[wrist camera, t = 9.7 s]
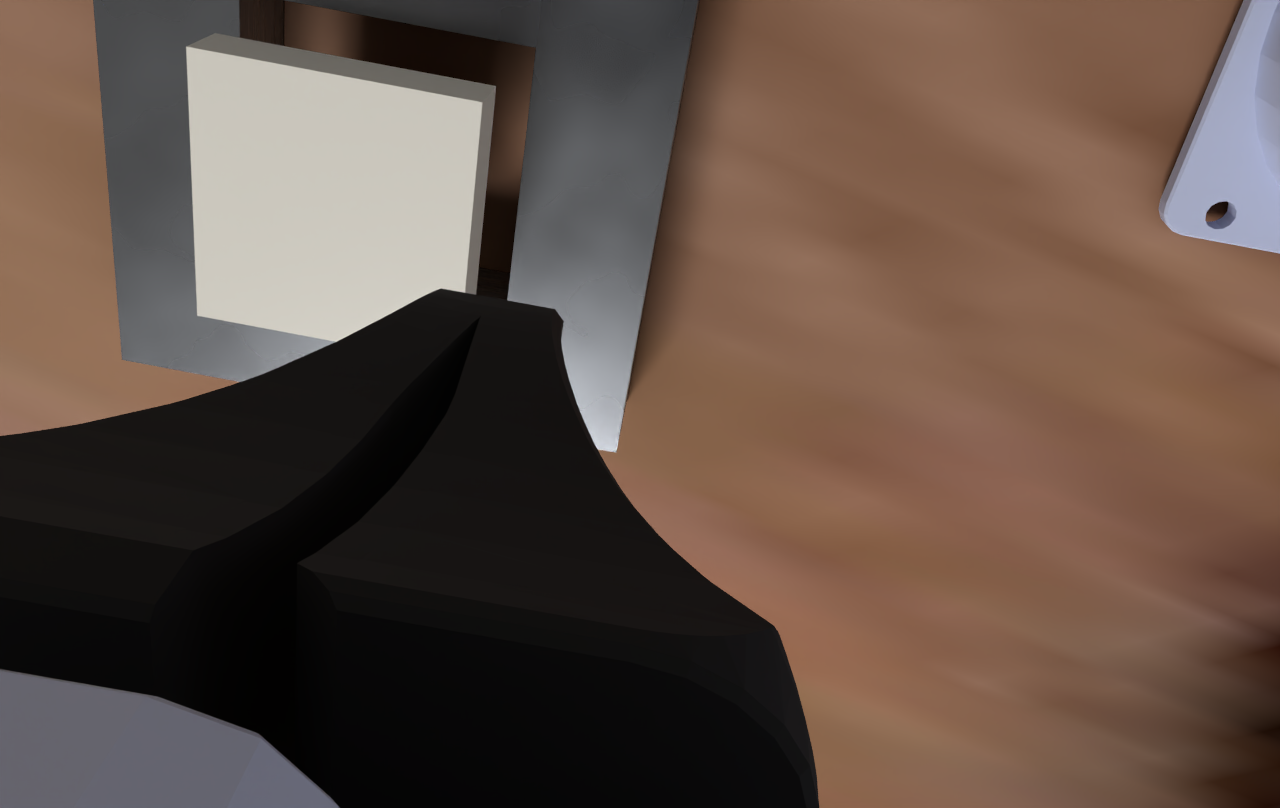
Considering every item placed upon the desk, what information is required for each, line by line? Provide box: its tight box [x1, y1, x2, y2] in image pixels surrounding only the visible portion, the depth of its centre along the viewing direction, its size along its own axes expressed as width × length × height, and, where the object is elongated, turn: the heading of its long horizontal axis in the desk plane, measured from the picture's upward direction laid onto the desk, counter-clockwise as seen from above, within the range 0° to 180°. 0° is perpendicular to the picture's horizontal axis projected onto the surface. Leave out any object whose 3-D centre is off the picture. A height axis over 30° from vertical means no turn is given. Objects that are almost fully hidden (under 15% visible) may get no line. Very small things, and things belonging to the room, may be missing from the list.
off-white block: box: [186, 33, 496, 342], centre depth 19 cm, size 4×4×3 cm
